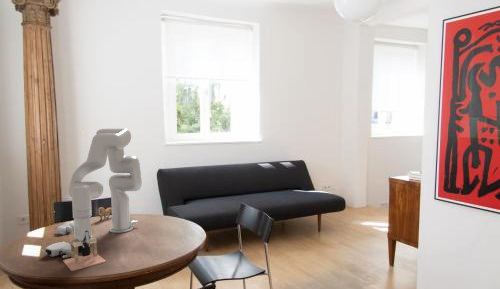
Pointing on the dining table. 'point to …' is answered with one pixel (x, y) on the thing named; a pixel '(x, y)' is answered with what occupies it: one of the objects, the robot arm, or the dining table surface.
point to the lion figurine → (104, 212)
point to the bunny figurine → (65, 228)
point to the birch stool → (76, 243)
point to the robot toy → (59, 249)
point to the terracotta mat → (83, 262)
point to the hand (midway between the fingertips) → (84, 253)
